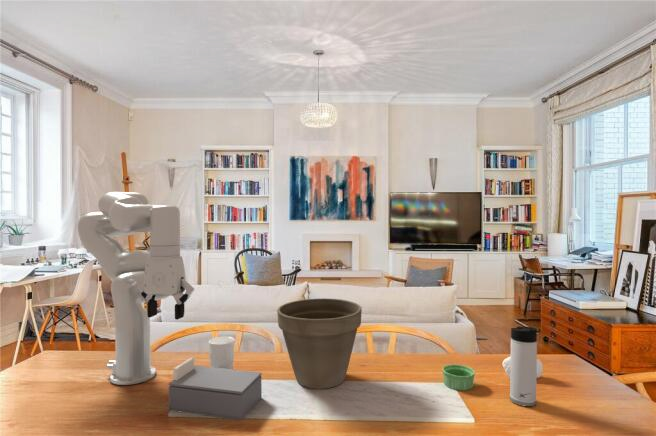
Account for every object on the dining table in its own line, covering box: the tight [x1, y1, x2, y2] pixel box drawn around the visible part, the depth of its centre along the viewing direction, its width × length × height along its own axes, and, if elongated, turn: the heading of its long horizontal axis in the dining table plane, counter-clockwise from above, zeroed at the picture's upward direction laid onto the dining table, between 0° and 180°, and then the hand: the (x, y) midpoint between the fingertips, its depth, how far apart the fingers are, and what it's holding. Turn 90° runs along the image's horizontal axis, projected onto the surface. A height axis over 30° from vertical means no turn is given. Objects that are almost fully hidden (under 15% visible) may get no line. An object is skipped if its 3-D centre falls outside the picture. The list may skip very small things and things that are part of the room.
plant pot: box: [276, 297, 363, 390], centre depth 124 cm, size 25×25×22 cm
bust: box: [502, 344, 544, 379], centre depth 127 cm, size 12×8×11 cm
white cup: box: [208, 335, 236, 370], centre depth 129 cm, size 8×8×10 cm
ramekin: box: [441, 363, 476, 392], centre depth 120 cm, size 9×9×4 cm
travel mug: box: [509, 326, 538, 407], centre depth 109 cm, size 6×7×20 cm
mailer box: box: [168, 375, 263, 421], centre depth 108 cm, size 20×12×6 cm, turn 76°
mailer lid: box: [168, 357, 262, 394], centre depth 108 cm, size 20×12×4 cm, turn 76°
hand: (165, 316), depth 111 cm, fingers open, 7 cm apart
